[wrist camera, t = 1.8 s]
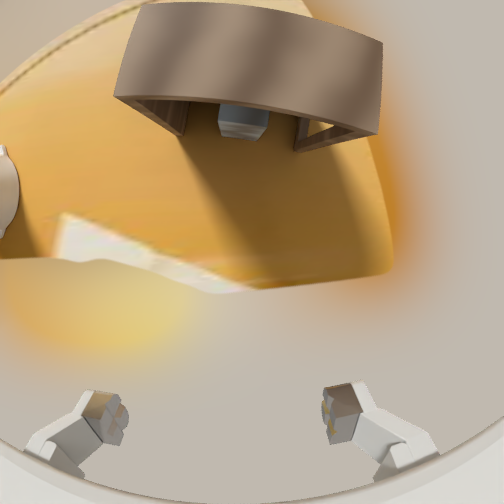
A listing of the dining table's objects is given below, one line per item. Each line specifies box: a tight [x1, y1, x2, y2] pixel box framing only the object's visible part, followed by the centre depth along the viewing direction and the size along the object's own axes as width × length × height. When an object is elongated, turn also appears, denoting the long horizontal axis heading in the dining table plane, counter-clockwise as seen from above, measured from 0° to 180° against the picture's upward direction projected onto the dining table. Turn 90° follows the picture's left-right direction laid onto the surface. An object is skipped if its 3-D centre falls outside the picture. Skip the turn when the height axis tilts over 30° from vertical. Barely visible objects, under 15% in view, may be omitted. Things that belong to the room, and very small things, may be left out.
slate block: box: [218, 104, 270, 141], centre depth 30 cm, size 5×5×12 cm
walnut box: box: [113, 2, 383, 153], centre depth 25 cm, size 18×8×22 cm, turn 82°
